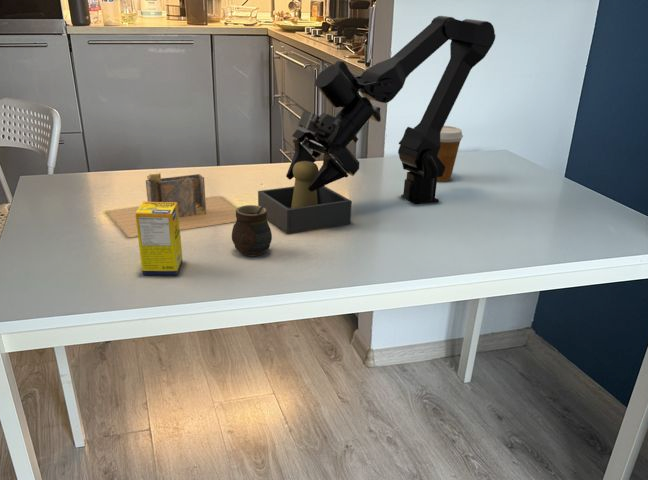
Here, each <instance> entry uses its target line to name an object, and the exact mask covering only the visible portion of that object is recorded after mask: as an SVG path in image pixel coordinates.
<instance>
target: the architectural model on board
mask: <svg viewBox="0 0 648 480" xmlns="http://www.w3.org/2000/svg"><path fill="white" fill-rule="evenodd" d="M205 184H206V183H205V176H203V175H202V174H201V173H196V174H188V175H179V176H170V177H161V172H158V173H153V174H152V173H149V174H148V175H147V176H146V179H145V190H146V198H147V202H177V203H178V214H179V225H180V231H181V230H182V231H183V230H189V229H194V228H202V227H207V226H208V227H209V226H216V225H222V224H228V223H236V220H237V218H236V209H237V208H236V207H234V206H233V205H231V204H230V203H229V202H227V201H226V200H225V199H223V198H222V197H221V196H217V197H208V198H206V185H205ZM138 208H139V207H133V208H126V209H125V208H123V209H117V210H109V211H107V214H108V215H109V216H110V217H111V218H112V220H113V221H114V222H115V223H116V224H117V225H118V227H119V228H120V229H121V230H122V231H123V233H124V234H125V235H126V236H127V237H128V238H135V237H138V231H137V223H136V211H137V210H138Z"/></svg>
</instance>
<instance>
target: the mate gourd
mask: <svg viewBox="0 0 648 480" xmlns="http://www.w3.org/2000/svg"><path fill="white" fill-rule="evenodd" d="M264 206H265V204H264V205H262V207H261V206H258V205H257V204H247V205H242V206H241V205H240V206H237V208H235V209H236V218H237V220H236V222H234V224H233V226H232V229H231V230H232V231H231V241H232V243H233V245H234V248H235V250H236V251H237V252H238V253H240V254H241V255H243V256H247V257H257V256H262V255H263V254H264V253H265V252H267V251H268V250H269V248H270V247H271V244H272V239H273V234H272V230H271V227H270V225H269V223H268V222H269V221H268V220H267V219H266V217H267V210H266V209H265V208H264Z"/></svg>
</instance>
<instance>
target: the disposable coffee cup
mask: <svg viewBox="0 0 648 480" xmlns="http://www.w3.org/2000/svg"><path fill="white" fill-rule="evenodd" d="M463 138H464V135H463V131H462V129H461V128H458V127H456V126H451V125H444V126H443V128H442V130H441V133H440V150H439V153H438V156H437V157H438V158H439V159H440V161H441V162H442V163H443V165H444V166H445V170H444V173H443V175H442V177H437V182H448V181H451V178H452V174H453V170H454V166H455V164H456V160H457V156H458V152H459V147H460V143H461V141H462V139H463Z"/></svg>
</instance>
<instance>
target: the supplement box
mask: <svg viewBox="0 0 648 480" xmlns="http://www.w3.org/2000/svg"><path fill="white" fill-rule="evenodd" d="M137 208H138V210H137V211H136V223H137V231H138V236H137V240H138V247H139V257H140V264H141V272H142V275H144V276H145V275H147V276H148V275H156V276H158V275H159V276H160V275H162V276H164V275H165V276H178V274H179V272H180V269H181V266H182V264H183V253H182V252H183V250H182V238H181V230H180V225H179V214H178V203H177V202H148V201H142V203H141V204H140V206H139V207H137Z"/></svg>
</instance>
